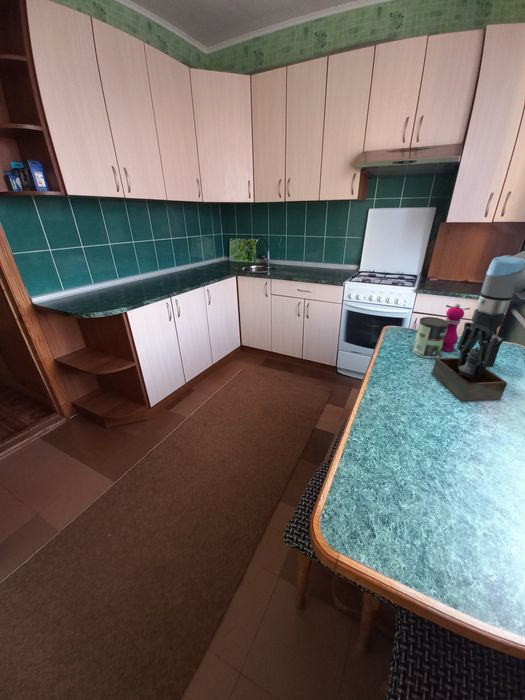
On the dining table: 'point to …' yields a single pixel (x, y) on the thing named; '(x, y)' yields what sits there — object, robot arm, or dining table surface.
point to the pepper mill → (452, 327)
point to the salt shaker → (469, 365)
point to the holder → (464, 391)
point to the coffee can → (430, 337)
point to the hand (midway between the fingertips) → (466, 376)
